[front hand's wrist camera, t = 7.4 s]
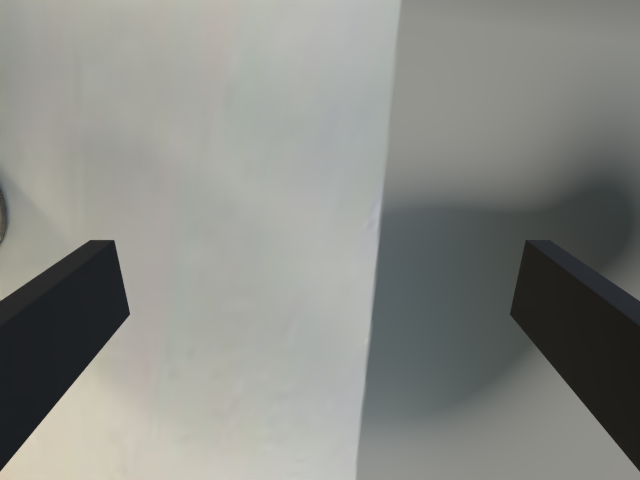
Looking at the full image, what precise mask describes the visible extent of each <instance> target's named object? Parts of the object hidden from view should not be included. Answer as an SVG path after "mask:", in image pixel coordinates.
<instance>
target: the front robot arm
mask: <svg viewBox="0 0 640 480" xmlns="http://www.w3.org/2000/svg"><path fill="white" fill-rule="evenodd" d="M5 226H6V210H5V204H4V200H3V197H2V194H1V191H0V242H1V240H2V238H3V235H4V232H5ZM129 315H130V312H129V307H128V302H127V298H126V293H125V288H124V284H123V279H122V274H121V270H120V265H119V260H118V256H117V251H116V246H115V242H114V240H90V241H88V242H87V243H85V244H84V245H82V246H81V247H79V248H78V249H77V250H75V251H74V252H72V253H71V254H69V255H68V256H66V257H65V258H63V259H62V260H60V261H59V262H57V263H56V264H54V265H53V266H51V267H50V268H49V269H47V270H46V271H44V272H43V273H41V274H40V275H38V276H37V277H35V278H34V279H32V280H31V281H29V282H28V283H26V284H25V285H23V286H22V287H21V288H19V289H18V290H16V291H15V292H13V293H12V294H10V295H9V296H7V297H6V298H4V299H3V300H1V301H0V471H1V470H2V469H3V467H4V466H5V465H6V464H7V463H8V461H9V460H10V459H11V458H12V457H13V455H14V454H15V453H16V452H17V451H18V449H19V448H20V447H21V446H22V444H23V443H24V442H25V441H26V440H27V438H28V437H29V436H30V435H31V434H32V432H33V431H34V430H35V429H36V428H37V426H38V425H39V424H40V423H41V421H42V420H43V419H44V418H45V417H46V415H47V414H48V413H49V412H50V411H51V409H52V408H53V407H54V406H55V405H56V403H57V402H58V401H59V400H60V398H61V397H62V396H63V395H64V394H65V392H66V391H67V390H68V389H69V388H70V386H71V385H72V384H73V383H74V381H75V380H76V379H77V378H78V377H79V375H80V374H81V373H82V372H83V371H84V369H85V368H86V367H87V366H88V365H89V363H90V362H91V361H92V360H93V358H94V357H95V356H96V355H97V354H98V352H99V351H100V350H101V349H102V348H103V346H104V345H105V344H106V343H107V342H108V340H109V339H110V338H111V337H112V335H113V334H114V333H115V332H116V331H117V329H118V328H119V327H120V326H121V325H122V323H123V322H124V321H125V320H126V319H127V317H128V316H129ZM510 315H511V316H512V317H513V319H514V320H515V321H516V322H517V323H518V325H519V326H520V327H521V328H522V329H523V331H524V332H525V333H526V334H527V335H528V337H529V338H530V339H531V340H532V342H533V343H534V344H535V345H536V346H537V348H538V349H539V350H540V351H541V352H542V354H543V355H544V356H545V357H546V358H547V360H548V361H549V362H550V363H551V365H552V366H553V367H554V368H555V369H556V371H557V372H558V373H559V374H560V375H561V377H562V378H563V379H564V380H565V381H566V383H567V384H568V385H569V386H570V388H571V389H572V390H573V391H574V392H575V394H576V395H577V396H578V397H579V398H580V400H581V401H582V402H583V403H584V404H585V406H586V407H587V408H588V409H589V411H590V412H591V413H592V414H593V415H594V417H595V418H596V419H597V420H598V421H599V423H600V424H601V425H602V426H603V427H604V429H605V430H606V431H607V432H608V434H609V435H610V436H611V437H612V438H613V440H614V441H615V442H616V443H617V444H618V446H619V447H620V448H621V449H622V450H623V452H624V453H625V454H626V455H627V457H628V458H629V459H630V460H631V461H632V463H633V464H634V465H635V466H636V467H637V469H638V470H639V471H640V301H639V300H637V299H636V298H634V297H633V296H631V295H630V294H628V293H627V292H625V291H624V290H622V289H621V288H619V287H618V286H617V285H615V284H613V283H612V282H611V281H609V280H608V279H606V278H605V277H603V276H602V275H600V274H599V273H597V272H596V271H594V270H593V269H591V268H590V267H589V266H587V265H585V264H584V263H582V262H581V261H580V260H578V259H577V258H575V257H574V256H572V255H571V254H569V253H568V252H566V251H565V250H563V249H562V248H560V247H559V246H557V245H556V244H555V243H553V242H552V241H550V240H526V242H525V246H524V251H523V256H522V260H521V265H520V270H519V274H518V279H517V284H516V288H515V293H514V298H513V302H512V307H511V312H510Z"/></svg>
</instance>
